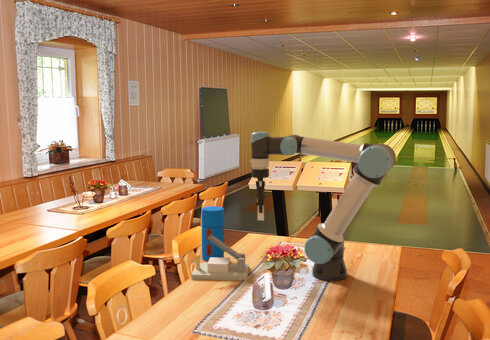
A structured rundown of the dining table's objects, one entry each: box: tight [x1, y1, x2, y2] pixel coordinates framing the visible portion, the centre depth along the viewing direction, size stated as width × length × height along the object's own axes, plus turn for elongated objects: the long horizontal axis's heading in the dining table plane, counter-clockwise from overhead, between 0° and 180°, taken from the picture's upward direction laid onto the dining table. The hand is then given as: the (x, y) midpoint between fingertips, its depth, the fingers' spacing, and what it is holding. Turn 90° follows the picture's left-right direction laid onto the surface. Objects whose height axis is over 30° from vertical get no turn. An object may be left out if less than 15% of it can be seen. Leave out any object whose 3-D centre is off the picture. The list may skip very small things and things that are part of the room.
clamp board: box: [190, 253, 250, 281], centre depth 216 cm, size 24×16×8 cm, turn 87°
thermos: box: [201, 205, 225, 263], centre depth 235 cm, size 11×11×25 cm
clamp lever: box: [208, 234, 244, 260], centre depth 215 cm, size 18×4×2 cm
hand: (260, 216), depth 211 cm, fingers open, 13 cm apart
